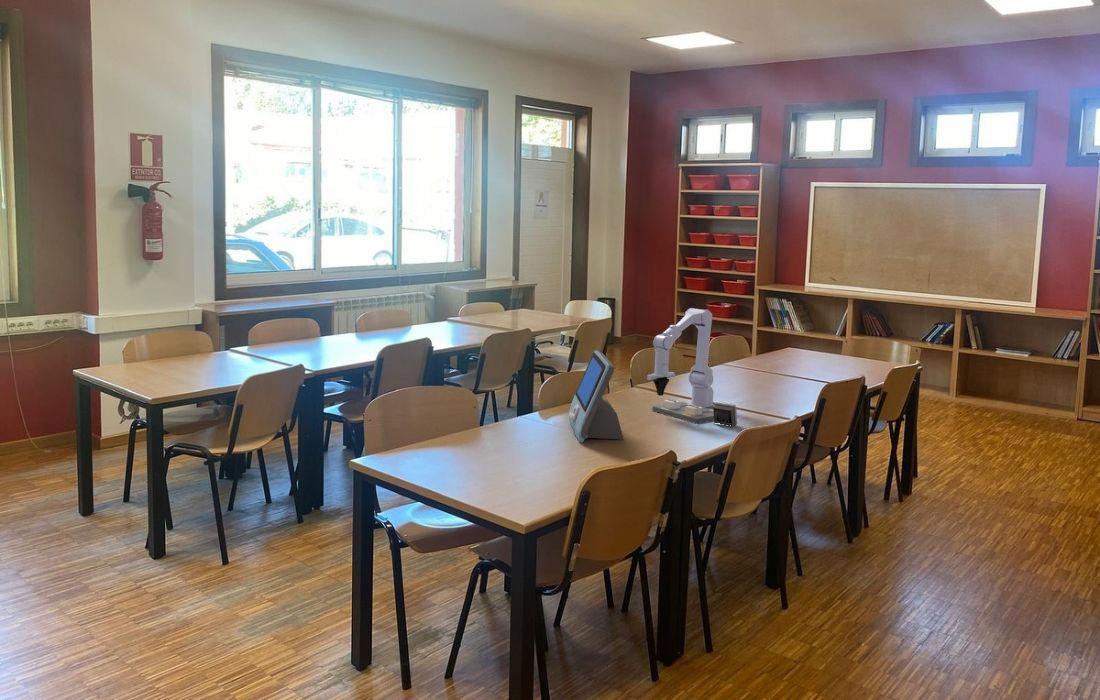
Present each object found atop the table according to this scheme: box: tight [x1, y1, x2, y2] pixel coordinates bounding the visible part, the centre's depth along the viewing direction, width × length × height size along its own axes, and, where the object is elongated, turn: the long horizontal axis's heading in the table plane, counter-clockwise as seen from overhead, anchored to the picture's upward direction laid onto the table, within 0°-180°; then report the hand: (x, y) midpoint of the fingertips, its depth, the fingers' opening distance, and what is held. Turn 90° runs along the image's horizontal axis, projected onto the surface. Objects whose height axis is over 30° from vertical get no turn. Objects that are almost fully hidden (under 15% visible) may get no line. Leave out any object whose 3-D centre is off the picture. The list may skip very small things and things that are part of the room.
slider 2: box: [685, 403, 702, 416], centre depth 360 cm, size 5×5×4 cm
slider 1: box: [662, 398, 681, 410], centre depth 370 cm, size 5×5×4 cm
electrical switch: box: [712, 401, 738, 427], centre depth 350 cm, size 9×5×9 cm, turn 57°
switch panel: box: [652, 401, 714, 424], centre depth 368 cm, size 18×26×2 cm
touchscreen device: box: [568, 350, 624, 444], centre depth 333 cm, size 35×20×30 cm, turn 5°
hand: (660, 395), depth 365 cm, fingers closed
